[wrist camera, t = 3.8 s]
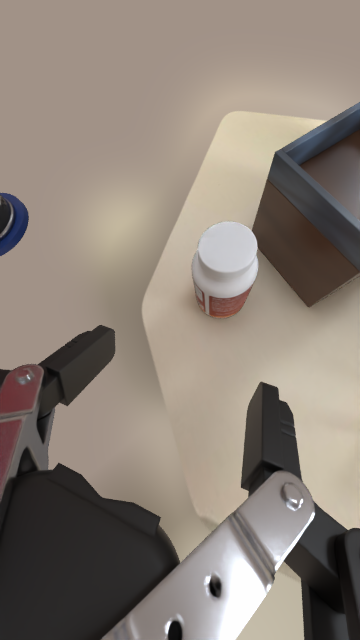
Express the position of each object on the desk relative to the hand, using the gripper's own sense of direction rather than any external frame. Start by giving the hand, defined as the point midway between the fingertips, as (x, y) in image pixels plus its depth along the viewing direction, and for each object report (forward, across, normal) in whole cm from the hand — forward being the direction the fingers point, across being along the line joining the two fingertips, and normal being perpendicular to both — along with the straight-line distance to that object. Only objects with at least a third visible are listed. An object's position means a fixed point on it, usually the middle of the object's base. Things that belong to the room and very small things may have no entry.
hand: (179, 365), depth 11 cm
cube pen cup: (+25, -10, -4) cm, 27 cm away
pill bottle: (+18, 0, +4) cm, 18 cm away
